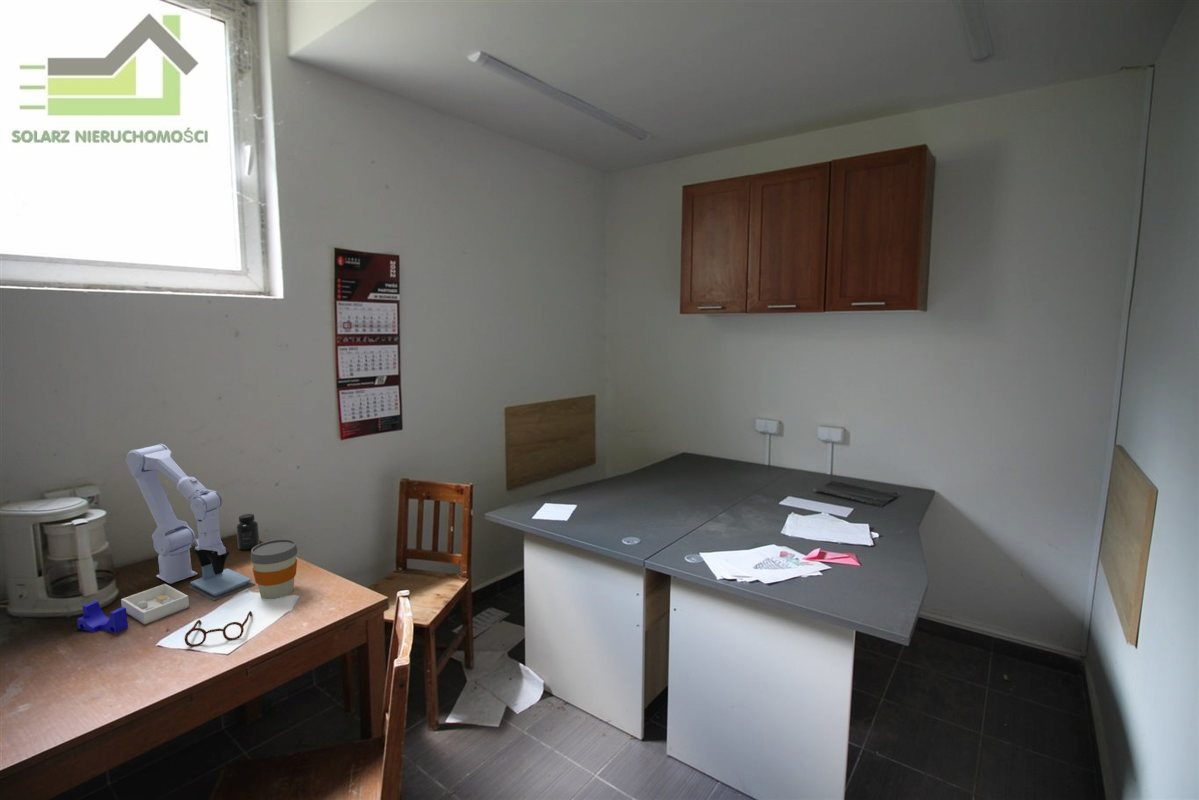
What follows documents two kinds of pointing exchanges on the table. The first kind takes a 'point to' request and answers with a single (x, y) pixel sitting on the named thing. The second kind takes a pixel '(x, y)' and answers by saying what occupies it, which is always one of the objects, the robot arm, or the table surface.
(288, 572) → the reusable coffee cup
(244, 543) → the supplement bottle
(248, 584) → the mat
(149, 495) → the robot arm
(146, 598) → the tub
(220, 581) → the lid
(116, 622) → the cable clip
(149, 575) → the table surface
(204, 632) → the glasses
